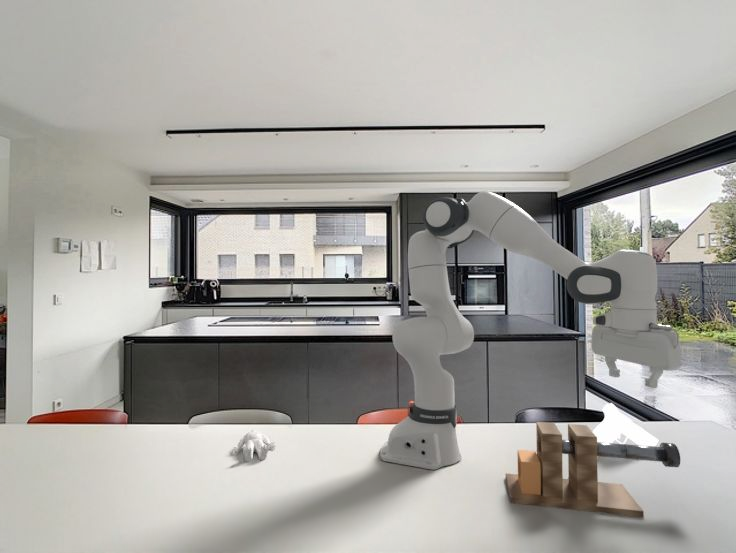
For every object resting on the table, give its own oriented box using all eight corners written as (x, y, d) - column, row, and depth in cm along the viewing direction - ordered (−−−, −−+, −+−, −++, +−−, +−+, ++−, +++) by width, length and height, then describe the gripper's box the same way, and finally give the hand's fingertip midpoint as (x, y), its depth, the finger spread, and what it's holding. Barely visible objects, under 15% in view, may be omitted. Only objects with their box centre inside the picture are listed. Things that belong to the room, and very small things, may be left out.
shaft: (550, 460, 94) (550, 438, 94) (546, 452, 98) (546, 431, 99) (680, 471, 88) (680, 448, 88) (669, 461, 93) (669, 440, 93)
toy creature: (233, 449, 112) (232, 425, 123) (232, 469, 113) (232, 444, 124) (278, 443, 116) (273, 421, 127) (278, 463, 117) (273, 439, 128)
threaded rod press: (511, 502, 92) (510, 434, 92) (505, 478, 104) (505, 417, 104) (643, 517, 86) (642, 443, 87) (622, 489, 98) (621, 424, 98)
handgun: (587, 445, 117) (613, 403, 118) (581, 441, 120) (607, 400, 121) (636, 479, 118) (661, 438, 120) (629, 475, 121) (654, 434, 122)
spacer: (521, 493, 94) (521, 461, 94) (517, 478, 101) (517, 449, 101) (540, 495, 93) (540, 463, 93) (535, 480, 100) (535, 451, 100)
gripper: (690, 326, 86) (688, 393, 86) (607, 316, 106) (606, 370, 106) (666, 327, 84) (665, 395, 85) (587, 316, 104) (586, 372, 104)
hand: (631, 381), depth 95 cm, fingers open, 8 cm apart
